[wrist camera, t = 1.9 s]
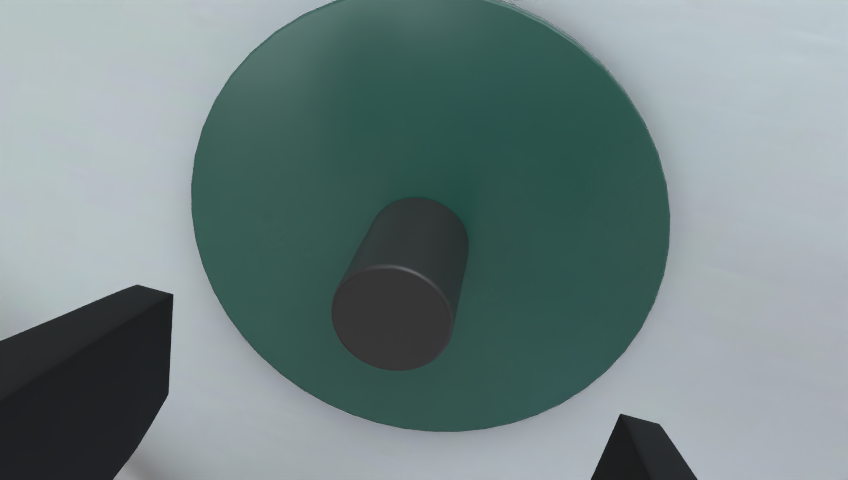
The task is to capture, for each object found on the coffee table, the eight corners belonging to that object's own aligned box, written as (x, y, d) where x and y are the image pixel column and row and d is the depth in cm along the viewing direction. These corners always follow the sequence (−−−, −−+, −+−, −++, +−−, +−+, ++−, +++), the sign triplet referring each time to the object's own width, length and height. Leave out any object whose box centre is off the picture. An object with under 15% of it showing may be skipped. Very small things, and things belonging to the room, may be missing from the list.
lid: (371, 457, 21) (330, 591, 17) (122, 147, 17) (-7, 216, 13) (741, 305, 17) (808, 431, 13) (509, -132, 13) (497, -157, 9)
